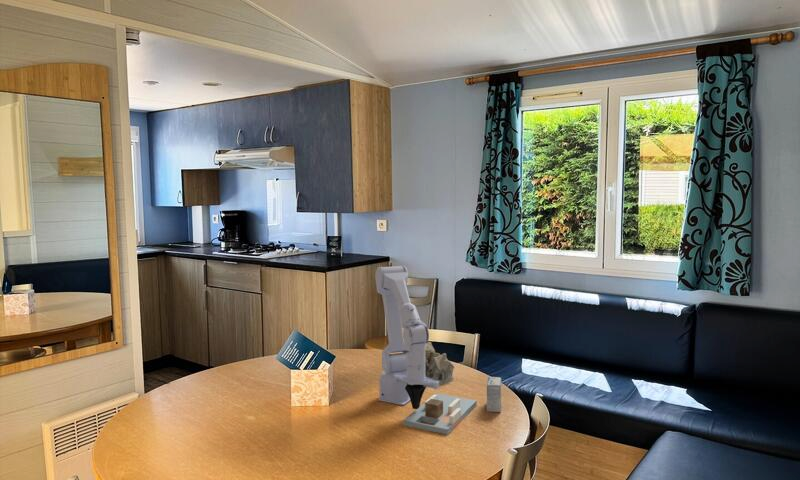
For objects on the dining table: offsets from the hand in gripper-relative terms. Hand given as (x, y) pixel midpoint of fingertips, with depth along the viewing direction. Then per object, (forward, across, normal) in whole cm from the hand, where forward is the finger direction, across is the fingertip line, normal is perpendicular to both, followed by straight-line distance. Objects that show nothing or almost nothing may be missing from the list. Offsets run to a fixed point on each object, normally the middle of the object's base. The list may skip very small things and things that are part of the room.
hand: (416, 407), depth 169 cm
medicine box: (+3, +19, +18) cm, 26 cm away
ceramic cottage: (+3, -11, +32) cm, 34 cm away
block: (+1, +6, 0) cm, 6 cm away
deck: (+3, +6, +5) cm, 8 cm away
